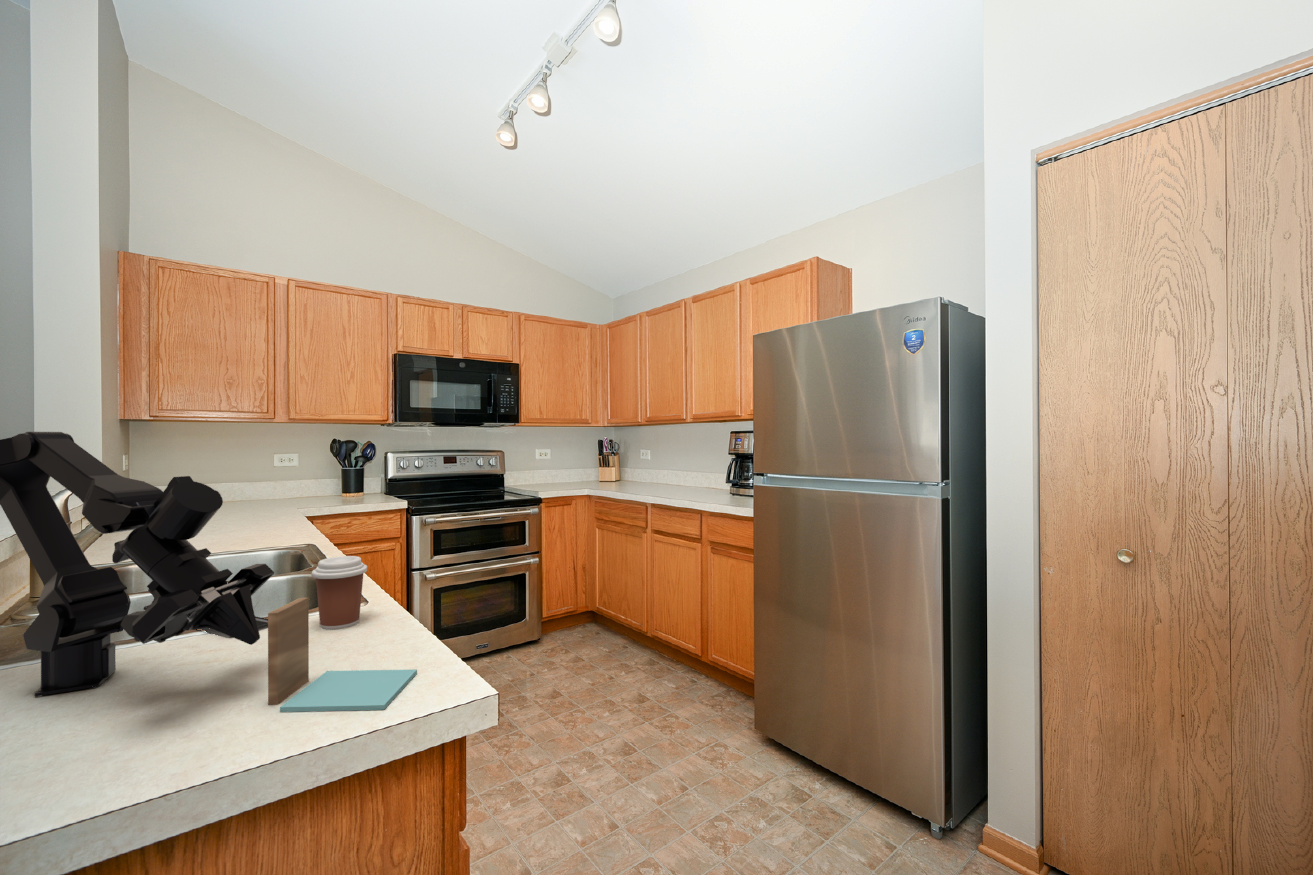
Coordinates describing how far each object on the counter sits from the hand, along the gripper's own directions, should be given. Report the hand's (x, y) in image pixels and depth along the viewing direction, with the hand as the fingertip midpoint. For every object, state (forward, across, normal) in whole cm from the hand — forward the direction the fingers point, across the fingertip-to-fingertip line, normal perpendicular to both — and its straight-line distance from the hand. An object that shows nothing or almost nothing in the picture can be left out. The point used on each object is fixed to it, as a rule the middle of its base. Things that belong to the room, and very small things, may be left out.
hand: (255, 641), depth 76 cm
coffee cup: (+3, -28, -8) cm, 30 cm away
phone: (-11, -28, -22) cm, 37 cm away
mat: (+14, 0, +4) cm, 15 cm away
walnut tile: (+8, 0, -2) cm, 8 cm away
